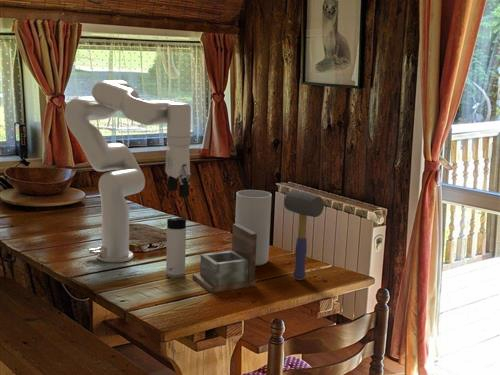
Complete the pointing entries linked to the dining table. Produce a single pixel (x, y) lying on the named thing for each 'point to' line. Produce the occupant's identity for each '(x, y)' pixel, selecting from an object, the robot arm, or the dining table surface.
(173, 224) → the travel mug
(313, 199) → the rubber mallet
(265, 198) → the cylinder vase
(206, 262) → the post holder
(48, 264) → the dining table surface
